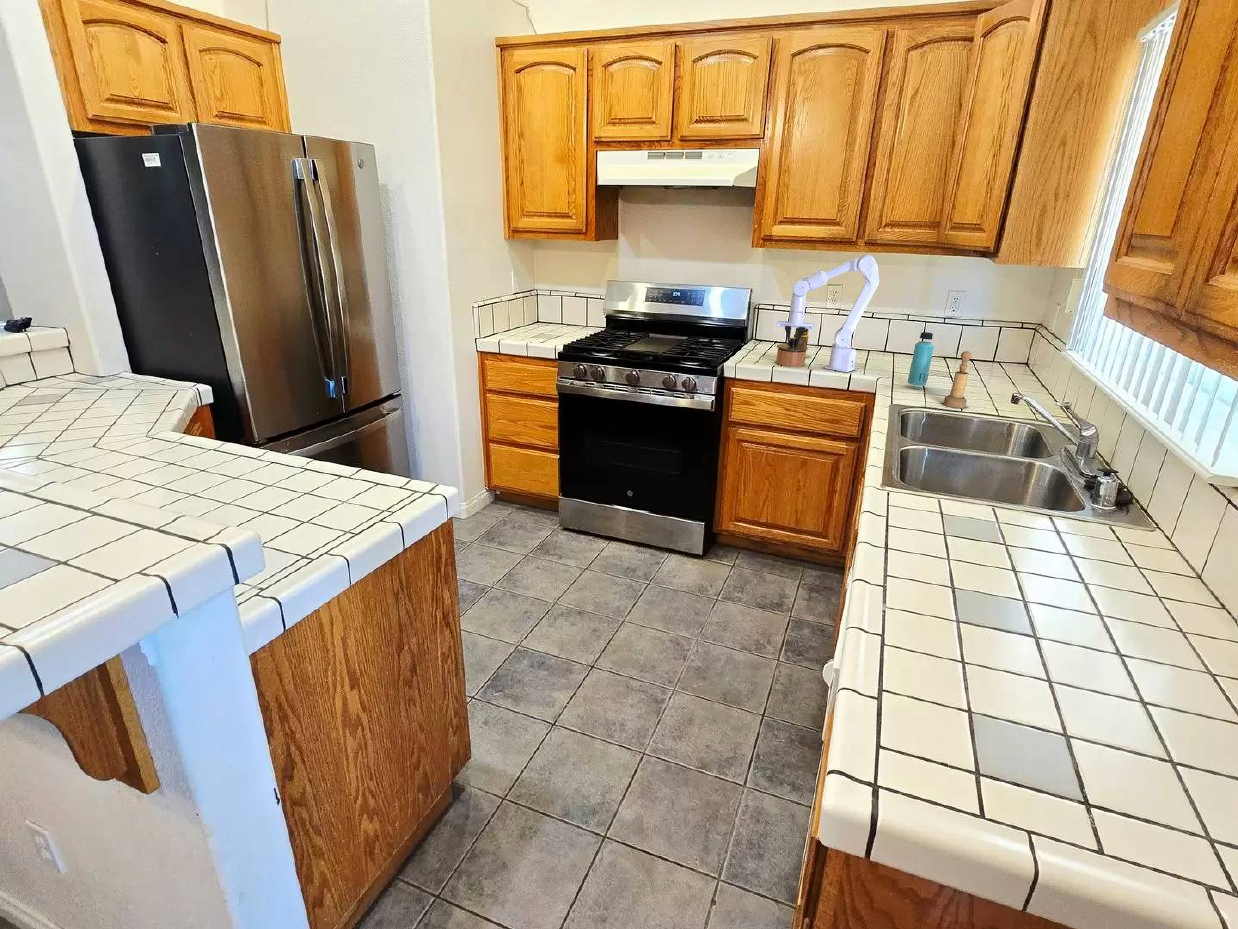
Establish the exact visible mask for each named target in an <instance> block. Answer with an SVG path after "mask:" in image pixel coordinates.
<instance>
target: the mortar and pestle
mask: <svg viewBox="0 0 1238 929" xmlns="http://www.w3.org/2000/svg"><path fill="white" fill-rule="evenodd" d="M971 358H972V353H971V351H962V352H961V354H960V359H961V364H959V370H957V371H955V372H954V376H953V381H952V384H951V385H952V386H951V388H950V394H947V395H946V396H945V397H944V399H943V405H944V406H946V407H949V408H954V409H964V408H966V405H967V402H968V400H967V399H966V397H964V395H965V390H966V386H967V382H968V378H969V375H970V374H969V372H967V371H966V370H967V369H968V364H967V363H968V362H969V361H970V360H971Z"/></svg>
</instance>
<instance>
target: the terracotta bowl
mask: <svg viewBox="0 0 1238 929" xmlns="http://www.w3.org/2000/svg"><path fill="white" fill-rule="evenodd" d="M806 356H807V350H805V351H800V352H793V351H786V350H782V349H780V348H778V347H777V352H776V359H775V363H776V364H777V365H779V366H783V367H789V368H800V367H801V368H802V367H804V366H805V363H806V358H807V357H806Z"/></svg>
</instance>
